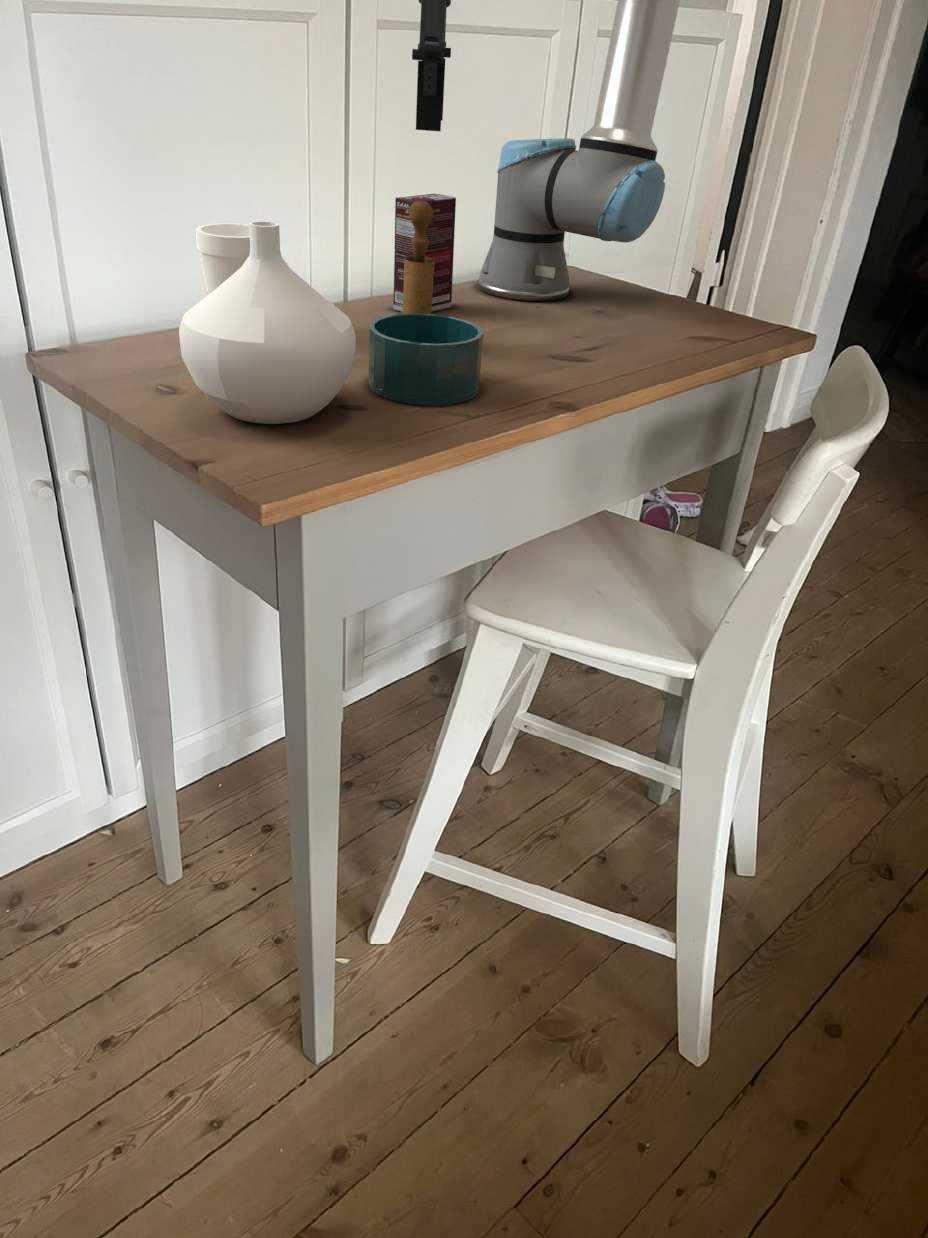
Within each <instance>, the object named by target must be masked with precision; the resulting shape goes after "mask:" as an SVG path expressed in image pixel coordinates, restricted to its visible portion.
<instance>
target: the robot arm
mask: <svg viewBox="0 0 928 1238" xmlns="http://www.w3.org/2000/svg"><path fill="white" fill-rule="evenodd" d="M680 2H681V0H617V2H616V8H615V13H614V19H613V25H612V29H611V34H610V38H609V39H610V40H609V45H608V49H607V54H606V60H605V65H604V71H603V76H602V81H601V86H600V91H599V96H598V101H597V106H596V111H595V116H594V122H593V125H592V127H591V128H590V129H589V130H587V131H586V132H584V133H583V134H582V135H581V136H580V141H579V146H578V150H577V145H576V140H575V139H574V138H568V137H567V138H563V137H562V138H536V139H535V138H534V139H533V138H532V139H515V140H509V141H507V142H505V143H504V145H502V147H501V150H500V155H499V162H498V168H497V169H496V171H497V182H496V183H497V185H496V197H495V210H494V211H495V212H494V223H493V237H492V241H491V244H490V246H489V249H488V252H487V254H486V257H485V259H484V261H483V264H482V267H481V270H480V274H479V278H478V288H479V289H480V290H481V291H482V292H484V293H487V294H489V295H492V296H495V297H498V298H499V297H500V298H504V299H510V300H516V301H517V300H518V301H529V302H530V301H531V302H546V301H547V302H548V301H556V300H561V299H564V298H566V297H568V295H569V293H570V275H569V269H568V264H567V263H568V262H567V259H566V252H565V247H564V246H565V245H564V244H565V237H566V236H565V235H566V234H565V233H569V234H575V235H579V236H584V237H589V238H594V239H599V240H601V241H603V242H616V243H631V242H634V241H636V240H637V239H639V238H641V236H643V235H644V234H645V232H646V231H647V230H648V229H649V228H650V227H651V225H652V224H653V222H654V220H655V219H656V217H657V214H658V212H659V210H660V208H661V204H662V202H663V200H664V199H663V198H664V195H665V194H664V193H665V189H666V182H665V178H666V174H665V169H664V167H663V166H662V165H661V164H660V163H659V162H658V161H657V155H658V151H659V150H658V147H657V146H656V144H655V142H654V140H653V137H652V132H653V126H654V122H655V116H656V112H657V109H658V104H659V99H660V94H661V89H662V85H663V80H664V75H665V72H666V66H667V63H668V58H669V54H670V48H671V44H672V40H673V39H672V38H673V35H674V29H675V25H676V20H677V15H678V12H679V7H680ZM418 3H419V4H420V23H419V43H418V44H417V48H412V51H411V60H414V61H417V78H416V79H417V82H416V108H415V110H416V111H415V130H416V131H428V132H441V131H442V121H443V118H444V98H445V97H444V96H445V78H446V77H445V74H446V58H447V59H450V58H451V57H452V48H451V47H447V42H446V30H447V10H448V9H447V8H449V7H450V6H451V4H452V0H418Z"/></svg>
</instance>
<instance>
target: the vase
mask: <svg viewBox="0 0 928 1238" xmlns="http://www.w3.org/2000/svg"><path fill="white" fill-rule="evenodd" d="M248 225H249V230H250V254H249V257H248V258H247V260H246V261H245V263H244V264H243V265H242V267H241V268H240V269H239V270H237V271H236V272H235V273H234V274H233V275H232V276H230V277H229V278H228V279H227V280H226V281H225V282H223V283H222V284H221V285H220V286H219V287H218V288H216V289H215V290H214V291H213V292H211V293H210V294H209V295H208V294H207V295H206V296H204V298H203V299H201V300H199V301H198V302H197V303H196V304H195V305H193V306H192V307H191V308H190V309H188V310H187V311H186V312H185V313H184V314H183V315H182V318H181V321H180V325H179V329H178V333H179V334H178V338H179V346H180V347H179V348H180V354H181V358H182V361H183V363H184V364H185V366H186V368H187V370H188V372H189V374H190V376H191V378H192V380H193V382H194V384H195V385H196V386H197V387H198V389H199V390H200V391H201V392H202V393H203V395H205V396H206V397H207V399H209V401H210V402H211V403H212V404H213V405H214V406H215V407H217V408H218V409H220V410H221V411H223V412H224V413H226V414H227V415H229V416H231V417H233V418H234V419H237V420H240V421H244V422H247V423H248V422H249V423H254V424H264V425H265V424H266V425H278V424H280V425H281V424H290V423H291V424H292V423H297V422H301V421H304V420H306V419H309V418H311V417H313V416H315V415H316V414H317V413H319V412H320V411H322V409H324V408H325V407H327V406H328V405H329V404H331V402H332V401H333V399H334V398H335V397H336V396H337V394H339V393H340V391H342V389H343V387H344V384H345V382H346V380H347V377H348V374H349V372H350V370H351V367H352V365H353V363H354V360H355V357H356V342H357V341H356V340H357V334H356V333H355V329H354V327H353V324H352V321H351V319H350V317H349V316H348V315H347V314H346V313H344V312H343V311H342V310H340V309H339V308H338V306H335V305H334V304H333V303H332V302H331V301H329V300H328V299H327V298H326V297H325V296H323V295H322V294H321V293H319V292H318V291H317V290H316V289H315V288H314V287H312V286H311V285H310V284H309V283H308V282H307V281H305V279H303V278H302V277H301V276H300V275H298V274H297V273H296V272H295V271H294V270H293V269H292V268H291V267H290V266H289V265H288V263H287V262H286V260H285V259H284V257H283V256H282V252H281V237H280V235H281V233H280V223H278V222H275V221H267V220H256V221H249V223H248Z"/></svg>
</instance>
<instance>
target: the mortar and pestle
mask: <svg viewBox="0 0 928 1238" xmlns="http://www.w3.org/2000/svg"><path fill="white" fill-rule="evenodd" d="M409 217H410V219H411V222H412V224H413V226H414V229H415V233H414V237H413V238H412V239H411V243H412V249H413V254H414V255H411V256H406V257H405V258H404V287H403V308H402V312H401V314H410V313H420V314H432V312H431V310H432V293H433V276H434V259H432V258H430V257H426V256H425V255H426V251H427V248H428V244H429V240H428V239H427V238H426V229H427V227H428V225H429V224H430V222H431V220H432V217H433V210H432V207H431V206H430V204H429V203H427V202H425V201H416V202H414V203H413V204H412V205H411V207H410V210H409Z"/></svg>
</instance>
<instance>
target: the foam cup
mask: <svg viewBox="0 0 928 1238" xmlns="http://www.w3.org/2000/svg"><path fill="white" fill-rule="evenodd" d="M194 231H195V244H196V249H197V251H198V254H199V260H200V265H201V269H202V275H203V278H204V283H205V288H206V294H207V296H208V295H209V294H210V293H211V292H213V291H214V290H215V289H216V288H218V287H219V286H220V285H221V284H222V283H223V282H225V281H226V280H227V279H228V278H229V277H230V276H232V275H233V274H234V273H235V272H236V271H237V270H239V269H240V268H241V267H242V265H243V264H244V263H245V261H246V260H247V258H248V257H249V254H250V230H249V224H247V223H233V222H231V223H230V222H221V223H220V222H219V223H208V224H203V225H199V226H197V227H196V228H195V230H194Z"/></svg>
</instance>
